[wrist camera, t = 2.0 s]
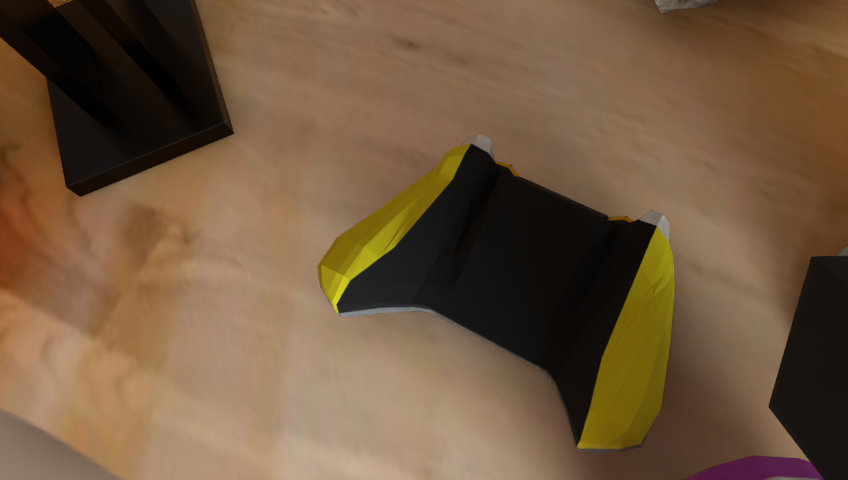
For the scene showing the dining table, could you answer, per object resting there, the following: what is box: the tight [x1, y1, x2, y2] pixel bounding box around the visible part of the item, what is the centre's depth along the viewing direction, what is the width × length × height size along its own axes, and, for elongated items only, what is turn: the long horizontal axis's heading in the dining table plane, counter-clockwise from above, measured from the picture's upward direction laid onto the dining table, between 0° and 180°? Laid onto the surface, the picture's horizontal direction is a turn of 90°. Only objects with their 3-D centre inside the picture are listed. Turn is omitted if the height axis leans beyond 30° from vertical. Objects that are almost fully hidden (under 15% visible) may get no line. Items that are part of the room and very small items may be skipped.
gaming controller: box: [318, 134, 675, 453], centre depth 32 cm, size 15×6×10 cm
